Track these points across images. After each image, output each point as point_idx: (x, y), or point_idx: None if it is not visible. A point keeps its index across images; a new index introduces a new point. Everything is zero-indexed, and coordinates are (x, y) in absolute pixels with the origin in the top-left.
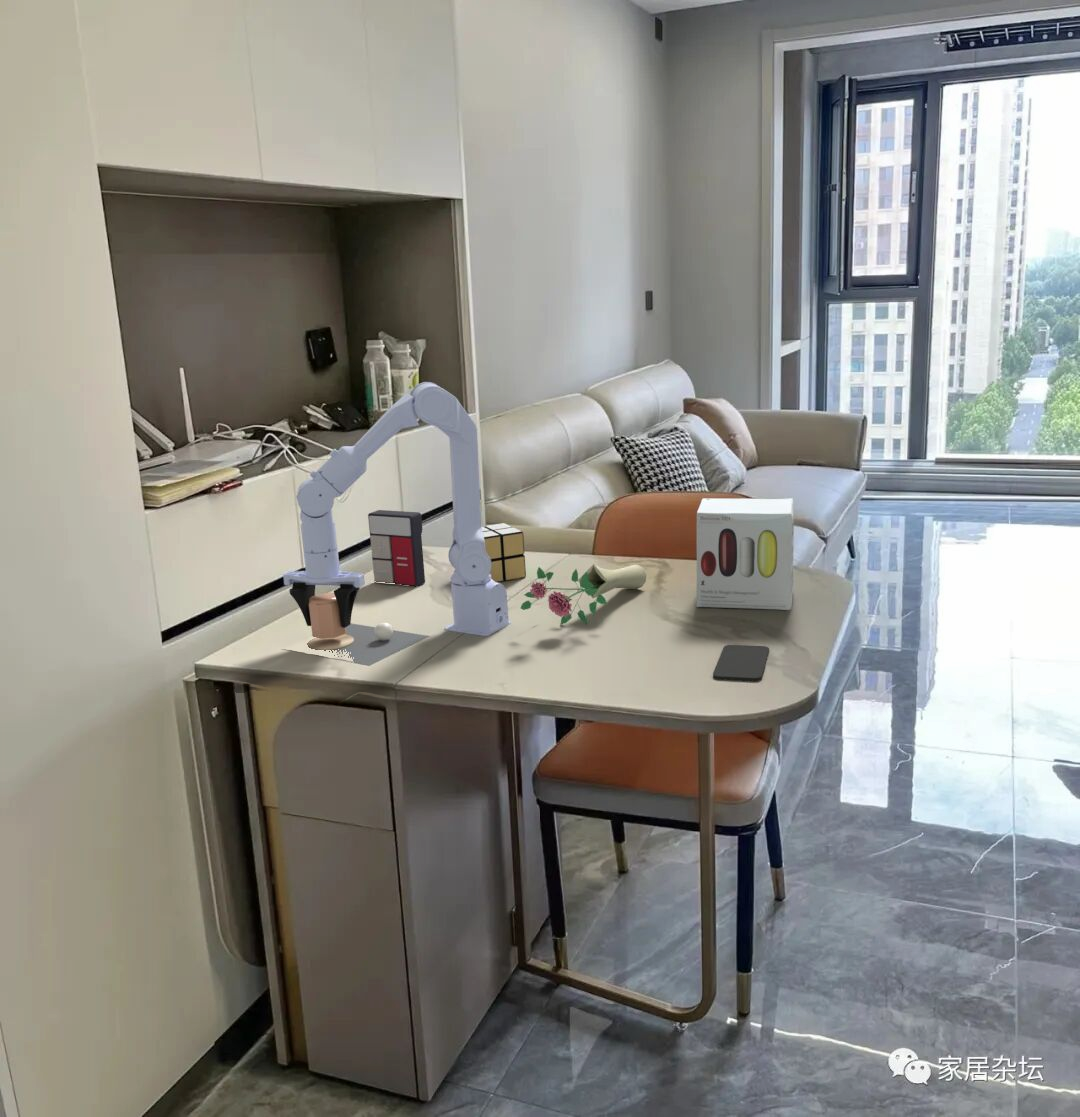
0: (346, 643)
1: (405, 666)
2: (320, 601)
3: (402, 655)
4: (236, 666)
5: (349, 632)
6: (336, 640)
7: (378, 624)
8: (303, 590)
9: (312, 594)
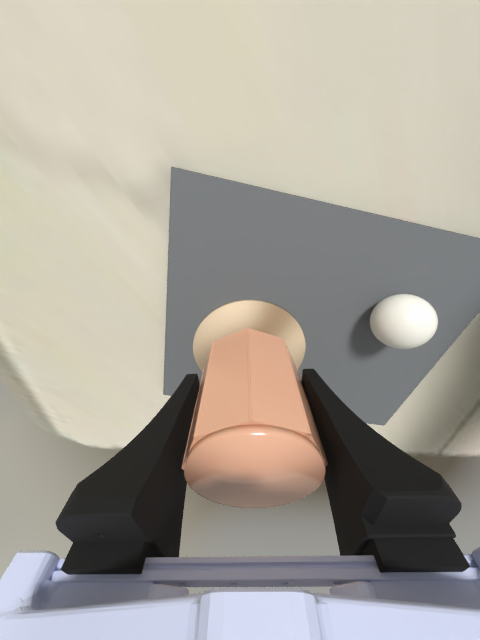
0: (296, 357)
1: (451, 407)
2: (260, 502)
3: (440, 367)
4: None
5: (256, 271)
6: None
7: (402, 341)
8: (171, 547)
9: (168, 465)
